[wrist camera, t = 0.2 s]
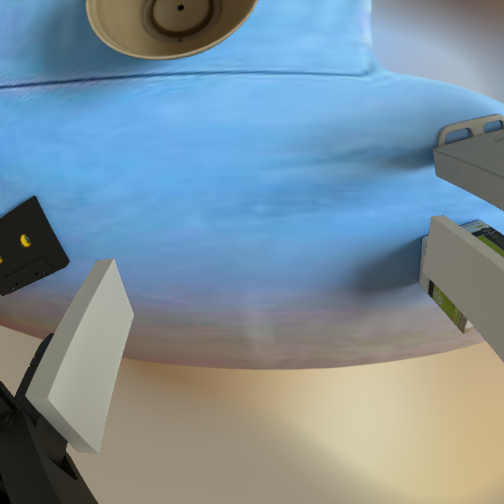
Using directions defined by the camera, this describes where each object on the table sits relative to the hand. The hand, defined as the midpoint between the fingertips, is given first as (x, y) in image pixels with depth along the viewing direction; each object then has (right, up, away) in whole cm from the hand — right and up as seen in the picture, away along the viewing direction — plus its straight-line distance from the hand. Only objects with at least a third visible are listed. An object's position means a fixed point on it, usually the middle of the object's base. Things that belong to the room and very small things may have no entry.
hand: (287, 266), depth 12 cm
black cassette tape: (-39, +1, +27) cm, 47 cm away
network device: (+36, +18, +27) cm, 48 cm away
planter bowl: (-10, +29, +16) cm, 34 cm away
